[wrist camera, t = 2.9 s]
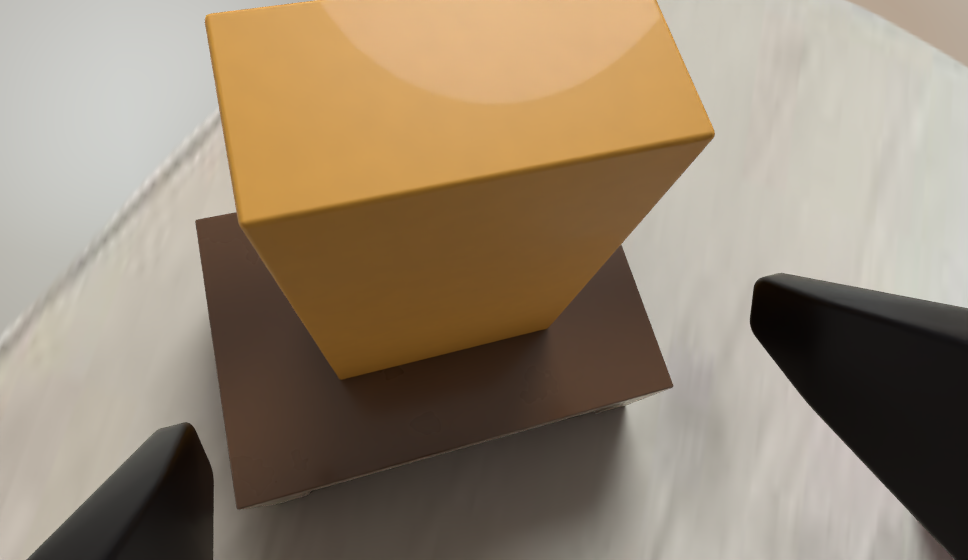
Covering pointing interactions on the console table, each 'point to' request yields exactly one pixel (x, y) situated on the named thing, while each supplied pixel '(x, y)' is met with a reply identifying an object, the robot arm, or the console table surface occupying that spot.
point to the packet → (446, 159)
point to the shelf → (402, 379)
